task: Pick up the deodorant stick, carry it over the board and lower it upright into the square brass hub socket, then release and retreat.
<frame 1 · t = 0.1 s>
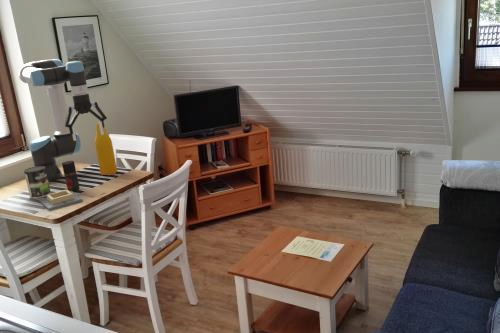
hand: (88, 137, 254), 28 cm above the table, fingers open, 13 cm apart
deodorant: (73, 190, 267), on the table
coffee can: (40, 195, 265), on the table
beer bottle: (109, 173, 291), on the table
hub board: (61, 201, 252), on the table
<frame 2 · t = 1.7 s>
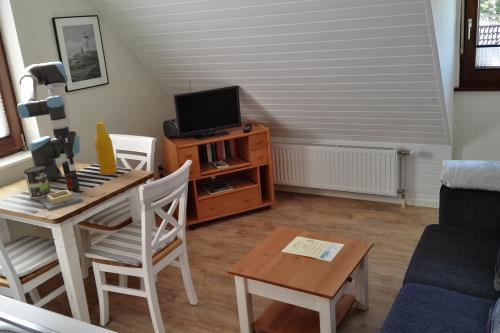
hand: (69, 168, 263), 12 cm above the table, fingers open, 13 cm apart
nothing on the table moved.
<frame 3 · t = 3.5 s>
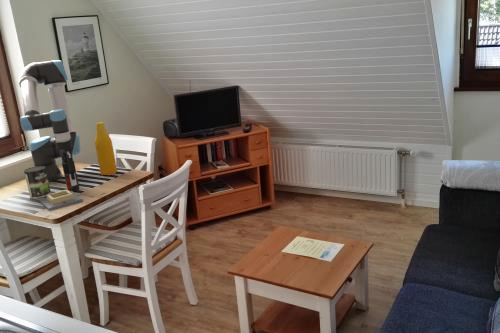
hand: (72, 183, 266), 3 cm above the table, fingers closed on deodorant, 6 cm apart
deodorant: (73, 190, 267), on the table, touching gripper
everything else where it was.
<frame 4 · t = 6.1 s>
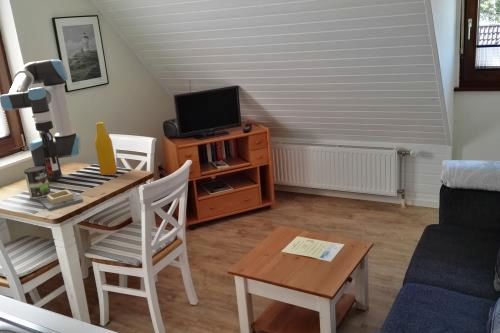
hand: (53, 168, 247), 17 cm above the table, fingers closed on deodorant, 6 cm apart
deodorant: (55, 175, 248), point 13 cm above the table, touching gripper
everything else where it was.
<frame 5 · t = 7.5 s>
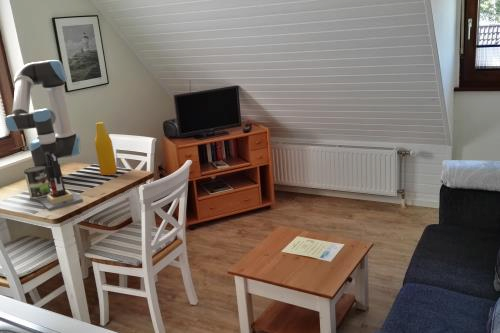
hand: (58, 188, 250), 7 cm above the table, fingers closed on deodorant, 6 cm apart
deodorant: (59, 195, 251), point 3 cm above the table, touching gripper
everything else where it was.
when the fingers open (5 cm above the table, at t = 8.8 s): deodorant stays where it is, resting on hub board.
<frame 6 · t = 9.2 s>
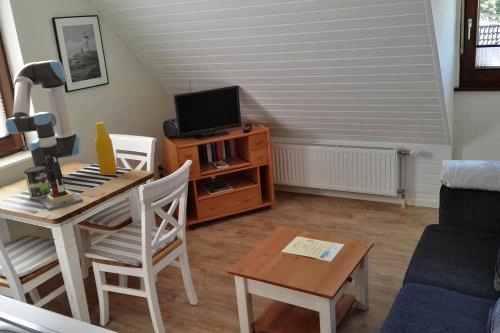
hand: (58, 188, 250), 7 cm above the table, fingers open, 12 cm apart
deodorant: (60, 199, 251), point 1 cm above the table, touching hub board
everything else where it was.
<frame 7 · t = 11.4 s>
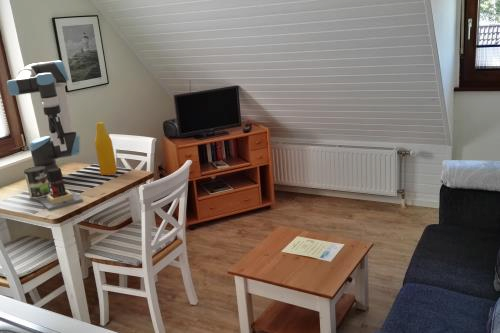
hand: (60, 148, 255), 24 cm above the table, fingers open, 13 cm apart
nothing on the table moved.
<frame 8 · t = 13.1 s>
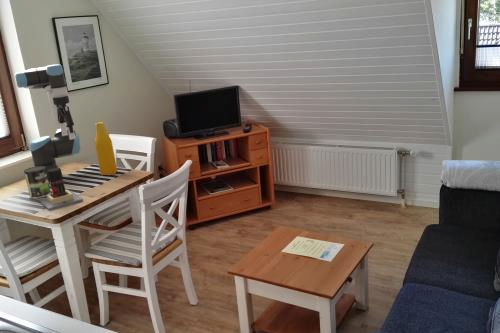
hand: (68, 137, 265), 27 cm above the table, fingers open, 13 cm apart
nothing on the table moved.
at the end: deodorant 0.1 cm from the hub board (horizontally); deodorant point 1.0 cm above the table; deodorant tilted 0° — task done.
